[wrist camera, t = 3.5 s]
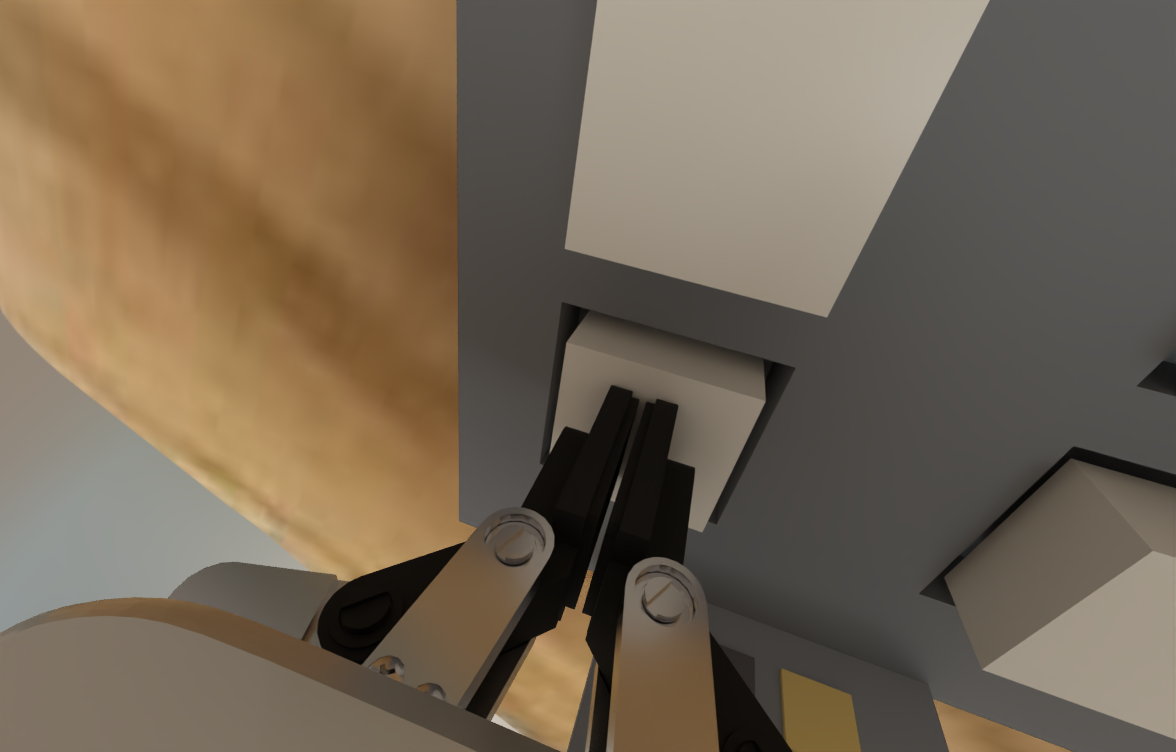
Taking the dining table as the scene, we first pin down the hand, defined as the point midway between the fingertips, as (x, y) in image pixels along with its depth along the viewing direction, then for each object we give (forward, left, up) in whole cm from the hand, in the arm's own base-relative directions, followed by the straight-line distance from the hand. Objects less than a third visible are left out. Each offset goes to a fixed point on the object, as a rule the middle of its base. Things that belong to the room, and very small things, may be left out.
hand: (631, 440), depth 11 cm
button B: (0, -7, -1) cm, 7 cm away
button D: (0, 0, -2) cm, 2 cm away
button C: (-11, 0, -1) cm, 11 cm away
